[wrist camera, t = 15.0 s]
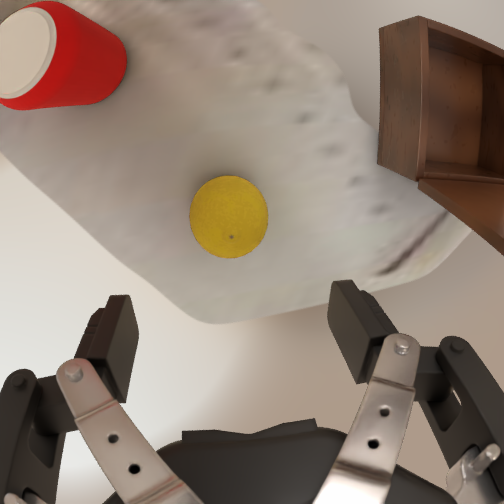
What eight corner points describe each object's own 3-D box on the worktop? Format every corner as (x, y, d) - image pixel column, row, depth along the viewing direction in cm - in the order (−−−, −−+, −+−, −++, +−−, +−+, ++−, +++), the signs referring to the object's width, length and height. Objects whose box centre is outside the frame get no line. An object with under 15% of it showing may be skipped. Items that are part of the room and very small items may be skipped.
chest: (378, 28, 21) (418, 15, 15) (481, 59, 22) (524, 60, 17) (377, 164, 27) (415, 181, 21) (476, 171, 28) (516, 189, 22)
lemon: (268, 177, 26) (290, 207, 19) (248, 237, 28) (260, 285, 21) (202, 158, 25) (198, 181, 18) (185, 221, 27) (176, 267, 20)
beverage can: (58, 104, 21) (-33, 116, 10) (69, 34, 19) (-15, 6, 8) (124, 105, 22) (56, 110, 11) (136, 32, 20) (80, -15, 9)
